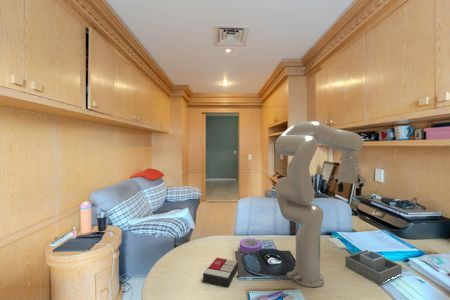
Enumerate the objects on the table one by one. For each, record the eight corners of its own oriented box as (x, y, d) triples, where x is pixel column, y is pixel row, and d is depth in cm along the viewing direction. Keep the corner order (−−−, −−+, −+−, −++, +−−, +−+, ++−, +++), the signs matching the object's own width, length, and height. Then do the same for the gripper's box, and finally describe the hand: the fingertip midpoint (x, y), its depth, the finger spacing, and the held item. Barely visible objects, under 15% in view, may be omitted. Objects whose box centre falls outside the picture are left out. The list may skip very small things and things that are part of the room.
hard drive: (326, 238, 131) (339, 247, 119) (340, 237, 132) (354, 246, 119) (326, 240, 131) (339, 250, 119) (340, 240, 132) (354, 250, 119)
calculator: (238, 260, 102) (228, 277, 88) (238, 269, 102) (228, 288, 87) (216, 256, 105) (202, 272, 91) (215, 265, 105) (202, 282, 91)
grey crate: (379, 285, 89) (379, 273, 89) (345, 266, 103) (345, 256, 102) (401, 275, 95) (401, 265, 95) (366, 259, 109) (366, 250, 109)
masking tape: (248, 242, 127) (248, 236, 127) (266, 249, 119) (266, 242, 119) (235, 249, 119) (235, 242, 119) (252, 257, 111) (252, 250, 111)
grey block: (373, 274, 95) (373, 260, 94) (359, 267, 100) (360, 254, 100) (384, 270, 98) (385, 256, 98) (370, 263, 103) (371, 250, 103)
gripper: (330, 159, 121) (329, 191, 121) (361, 161, 105) (360, 198, 106) (339, 159, 124) (339, 189, 124) (371, 161, 108) (370, 196, 109)
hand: (349, 193), depth 115 cm, fingers open, 9 cm apart
